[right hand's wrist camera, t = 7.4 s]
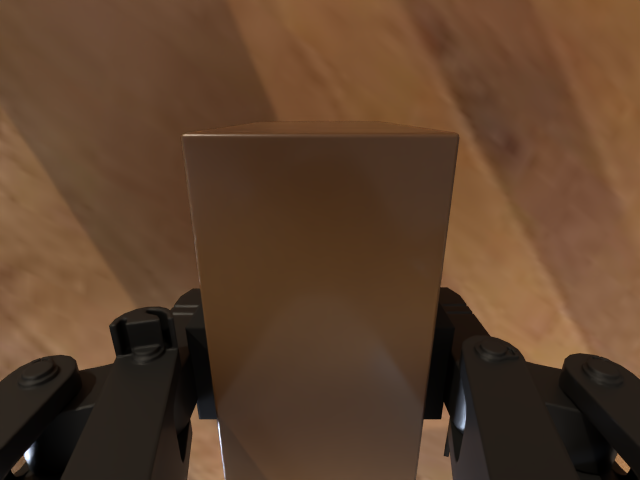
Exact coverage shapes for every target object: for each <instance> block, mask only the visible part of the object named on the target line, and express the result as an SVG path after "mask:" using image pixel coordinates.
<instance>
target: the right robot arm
mask: <svg viewBox="0 0 640 480" xmlns="http://www.w3.org/2000/svg"><path fill="white" fill-rule="evenodd" d="M109 328H110V332H111V336H112V340H113V345H114V349H115V353H116V359H115V361H114V363H113V364H109V365H105V366H100V367H95V368H90V369H85V370H81V371H79V370H78V366H77V363H76V360H75V359H73V358H72V357H71V356H65V355H56V356H47V357H43V358H41V359H40V358H39V359H36V360H33V361H32V362H30V363H28V364H26V365H23V366H21V367H19V368H18V369H17V370H15V371H14V372H12V373H11V374H9V375H8V376H7V377H5V378H4V379H3V380H2V381H1V382H0V480H187V476H188V467H189V458H190V450H191V441H192V427H191V420H190V417H191V415H192V413H193V410H194V408H195V406H196V403H197V408H198V414H199V419H217V415H216V407H215V400H214V392H213V384H212V376H211V369H210V361H209V353H208V345H207V338H206V330H205V322H204V314H203V307H202V299H201V291H200V289H192V290H190V291H189V292H187V293H185V294H184V295H182V296H181V297H180V298H179V300H178V301H177V302H176V304H175V305H174V307H173V308H172V309H171V310H169V309H167V308H163V307H145V308H140V309H135V310H133V311H130V312H127V313H125V314H123V315H121V316H120V317H118V318H116V319H115V320H114V321H113V322H112V323H111V324H110V325H109ZM443 403H445V406H446V408H447V410H448V413H449V415H450V420H449V426H448V432H447V439H446V445H445V451H444V456H447V457H449V452H450V458H451V466H452V475H453V480H640V379H639V378H637V377H636V376H635V375H634V374H633V373H631V372H630V371H628V370H627V369H625V368H624V367H622V366H621V365H619V364H617V363H614V362H612V361H610V360H609V359H606V358H603V357H599V356H596V355H590V354H581V353H579V354H572V355H569V356H568V357H567V358H566V359H565V360H564V364H563V367H562V369H558V368H553V367H548V366H543V365H538V364H534V363H530V362H526V361H525V359H524V357H523V355H522V354H521V353H520V351H519V350H518V349H517V348H515V347H514V346H512V345H511V344H510V343H508V342H505V341H503V340H501V339H499V338H495V337H491V336H490V335H489V334H488V332H487V331H486V330H485V328H484V327H483V326H482V324H481V323H480V322H479V320H478V319H477V318H476V316H475V315H474V314H472V311H471V310H470V308H469V307H468V306H466V303H465V302H464V300H463V299H462V298H461V296H460V295H458V294H457V293H455V292H454V291H452V290H451V289H449V288H447V287H440V293H439V301H438V309H437V317H436V325H435V333H434V341H433V348H432V356H431V364H430V372H429V380H428V388H427V396H426V403H425V411H424V419H441V416H442V409H443ZM617 453H618V454H619V455H620V456H621V457H622V459H623V460H624V461H625V462H626V463H627V464H628V465H629V467H630V470H629V472H628V473H626V472H625V471H624V470H623V469H622V468H621V467H620V466H619V465H618V464H617V463H616V461H615V458H616V456H617ZM23 455H24V457H25V460H26V463H25V464H24V465H23V466H22V467H21V469H20V470H18V471H17V472H16V473H15V474H13V473H12V472H11V468H12V467H13V466H14V465H15V464H16V463H17V462H18V460H19V459H20V458H21V457H22V456H23Z"/></svg>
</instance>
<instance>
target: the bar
mask: <svg viewBox="0 0 640 480" xmlns="http://www.w3.org/2000/svg"><path fill="white" fill-rule="evenodd" d="M181 144H182V151H183V159H184V167H185V175H186V182H187V190H188V198H189V206H190V213H191V221H192V229H193V237H194V244H195V252H196V260H197V268H198V276H199V283H200V291H201V299H202V307H203V314H204V322H205V330H206V338H207V345H208V353H209V361H210V369H211V376H212V384H213V392H214V400H215V407H216V415H217V423H218V431H219V438H220V446H221V454H222V462H223V470H224V477H225V480H416V474H417V466H418V459H419V451H420V443H421V435H422V427H423V419H424V411H425V403H426V396H427V388H428V380H429V372H430V364H431V356H432V348H433V341H434V333H435V325H436V317H437V309H438V301H439V293H440V285H441V278H442V270H443V262H444V254H445V246H446V238H447V230H448V223H449V215H450V207H451V199H452V191H453V183H454V175H455V168H456V160H457V152H458V144H459V135H458V134H457V133H454V132H447V131H440V130H433V129H426V128H420V127H413V126H406V125H399V124H392V123H385V122H255V123H249V124H242V125H235V126H228V127H222V128H215V129H208V130H202V131H195V132H188V133H184V134H182V135H181Z"/></svg>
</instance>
